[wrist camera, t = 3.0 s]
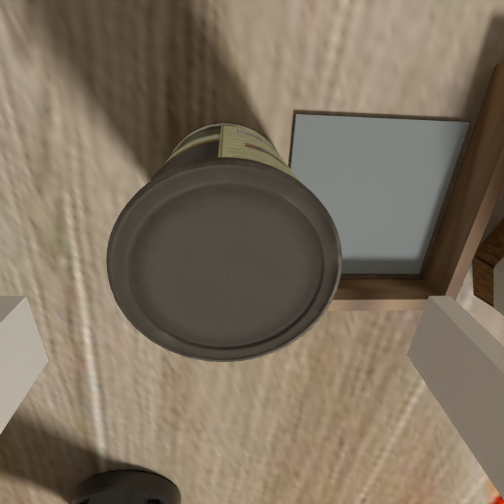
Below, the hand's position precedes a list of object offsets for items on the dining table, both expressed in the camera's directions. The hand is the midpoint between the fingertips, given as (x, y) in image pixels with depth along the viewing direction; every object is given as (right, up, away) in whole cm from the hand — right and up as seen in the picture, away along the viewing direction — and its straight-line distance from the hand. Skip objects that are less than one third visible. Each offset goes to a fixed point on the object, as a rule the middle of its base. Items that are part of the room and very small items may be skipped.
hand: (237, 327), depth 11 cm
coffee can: (-2, +8, +16) cm, 18 cm away
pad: (+11, +7, +17) cm, 21 cm away
